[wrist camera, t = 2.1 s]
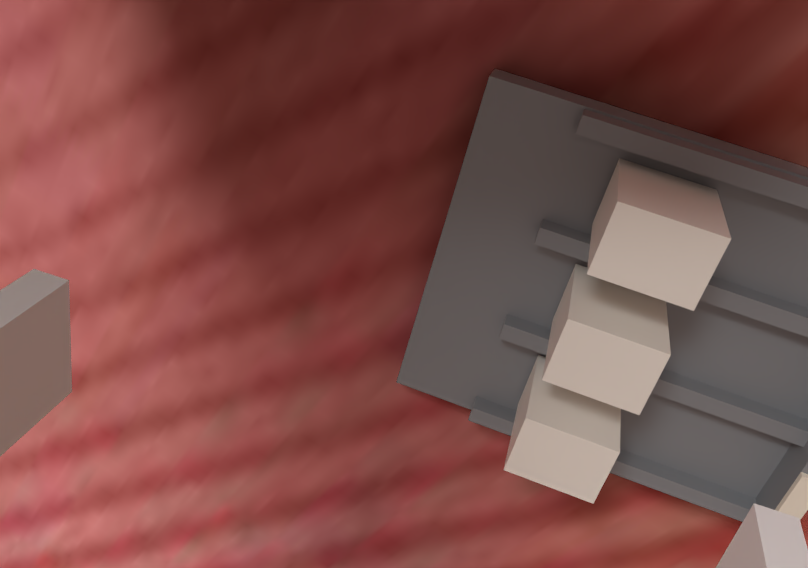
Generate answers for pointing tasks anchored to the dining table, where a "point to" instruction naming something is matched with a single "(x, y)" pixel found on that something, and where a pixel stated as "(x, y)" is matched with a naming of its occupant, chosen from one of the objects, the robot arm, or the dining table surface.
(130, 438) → the dining table surface
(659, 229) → the tab
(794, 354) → the switch board
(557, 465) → the tab
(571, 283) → the tab
